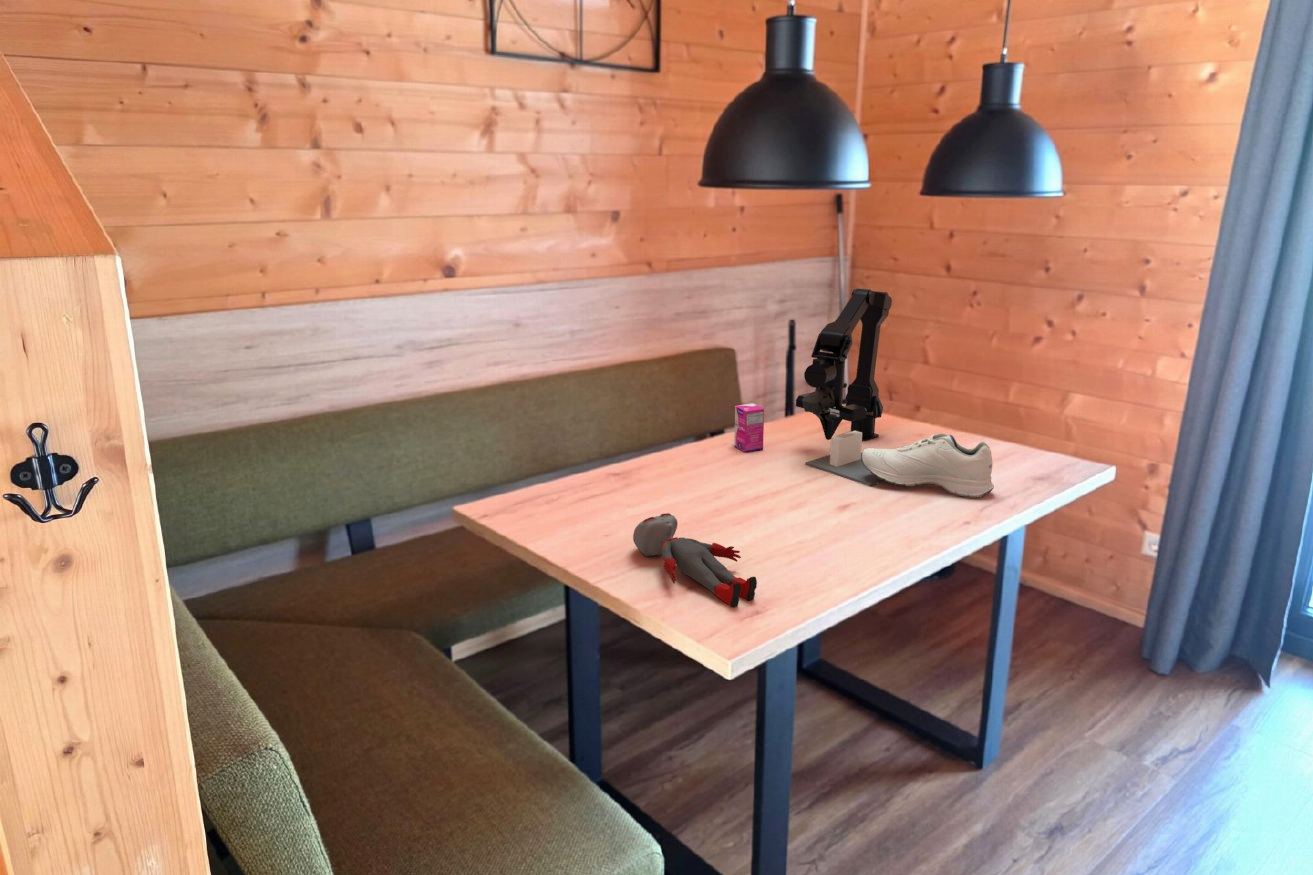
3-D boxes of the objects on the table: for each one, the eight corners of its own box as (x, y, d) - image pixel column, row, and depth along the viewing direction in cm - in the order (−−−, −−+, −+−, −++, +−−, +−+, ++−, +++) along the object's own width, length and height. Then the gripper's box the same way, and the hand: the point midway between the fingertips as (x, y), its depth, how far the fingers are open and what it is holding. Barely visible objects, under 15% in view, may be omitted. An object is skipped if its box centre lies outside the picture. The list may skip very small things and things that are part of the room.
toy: (713, 594, 152) (611, 510, 173) (705, 639, 156) (607, 552, 177) (781, 569, 161) (677, 492, 182) (772, 613, 166) (671, 533, 186)
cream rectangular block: (852, 456, 233) (854, 430, 230) (860, 459, 231) (862, 432, 229) (829, 464, 227) (830, 437, 225) (837, 466, 225) (838, 439, 223)
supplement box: (733, 447, 242) (734, 405, 239) (752, 444, 244) (754, 402, 241) (744, 453, 237) (745, 410, 234) (764, 450, 239) (765, 408, 236)
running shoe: (861, 468, 223) (866, 417, 219) (992, 484, 215) (999, 431, 210) (856, 484, 213) (861, 430, 209) (992, 502, 204) (1001, 446, 200)
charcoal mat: (849, 450, 239) (849, 448, 239) (913, 470, 224) (913, 468, 224) (805, 464, 229) (805, 462, 228) (869, 486, 214) (870, 483, 214)
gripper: (782, 377, 229) (779, 436, 234) (840, 392, 215) (836, 454, 220) (812, 370, 236) (808, 428, 241) (870, 384, 222) (865, 445, 227)
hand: (828, 439), depth 232 cm, fingers closed
